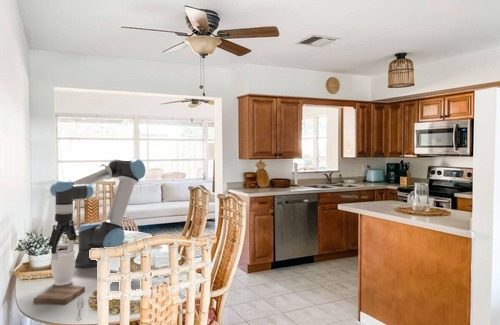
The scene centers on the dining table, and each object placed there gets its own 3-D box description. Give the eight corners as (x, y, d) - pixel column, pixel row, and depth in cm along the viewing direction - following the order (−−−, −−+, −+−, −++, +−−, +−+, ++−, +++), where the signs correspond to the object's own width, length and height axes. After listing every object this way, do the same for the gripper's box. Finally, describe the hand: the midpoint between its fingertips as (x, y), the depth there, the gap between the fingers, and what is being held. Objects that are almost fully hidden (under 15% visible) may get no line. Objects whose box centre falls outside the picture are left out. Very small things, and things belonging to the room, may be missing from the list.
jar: (58, 279, 189) (59, 249, 189) (79, 279, 188) (79, 249, 188) (46, 286, 178) (46, 254, 178) (68, 287, 178) (68, 255, 178)
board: (55, 289, 174) (55, 285, 174) (84, 290, 173) (84, 286, 173) (33, 302, 158) (33, 298, 158) (65, 304, 157) (65, 299, 157)
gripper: (70, 209, 195) (69, 250, 195) (40, 216, 171) (39, 263, 171) (84, 209, 195) (83, 250, 195) (56, 216, 170) (55, 263, 170)
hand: (62, 256), depth 183 cm, fingers open, 13 cm apart
